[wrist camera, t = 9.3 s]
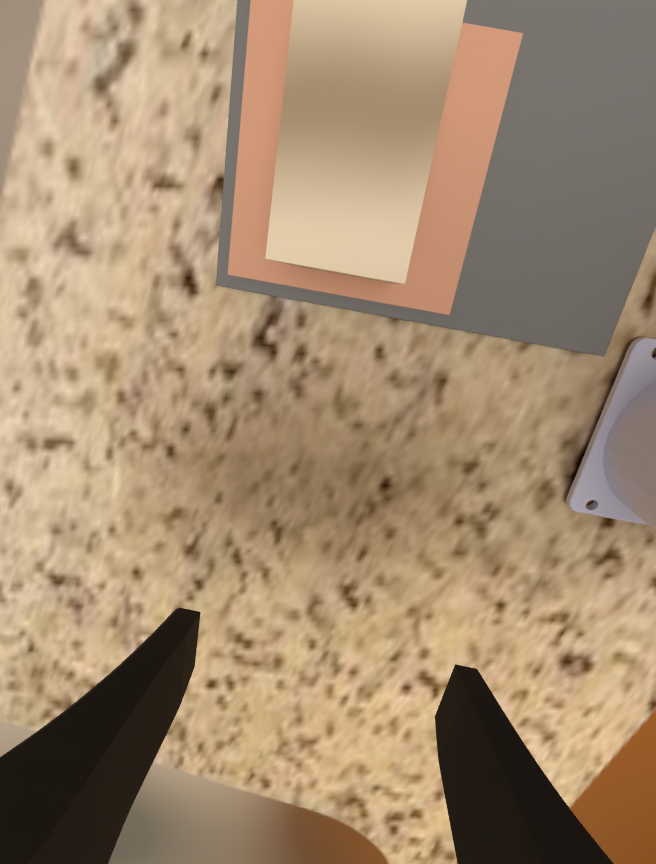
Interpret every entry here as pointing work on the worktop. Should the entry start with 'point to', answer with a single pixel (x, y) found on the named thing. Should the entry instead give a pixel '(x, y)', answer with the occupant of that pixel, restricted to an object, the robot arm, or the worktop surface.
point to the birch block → (359, 132)
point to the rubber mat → (484, 174)
